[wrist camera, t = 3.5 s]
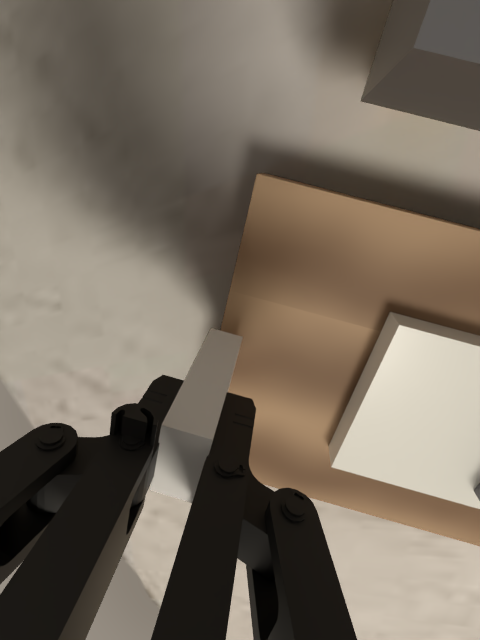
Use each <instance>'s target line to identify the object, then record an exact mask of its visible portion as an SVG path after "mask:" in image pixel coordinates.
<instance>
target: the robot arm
mask: <svg viewBox="0 0 480 640" xmlns="http://www.w3.org/2000/svg"><path fill="white" fill-rule="evenodd" d="M242 338H243V337H242V336H238V335H234V334H231V333H227V332H224V331H220V330H216V329H213V328H211V329H210V331H209V333H208V335H207V337H206V339H205V341H204V343H203V345H202V347H201V349H200V351H199V353H198V355H197V356H196V358H195V360H194V362H193V364H192V366H191V368H190V370H189V372H188V374H187V376H186V378H185V380H184V381H183V380H180V379H176V378H173V377H169V376H165V375H162V376H160V377H159V378H157V379H155V380H154V381H153V382H152V383H151V385H150V386H149V388H148V389H147V391H146V392H145V394H144V395H143V398H142V399H141V400H140V402H139V403H138V404H136V403H133V404H125V405H123V406H120V407H118V408H117V409H116V410H114V411H113V412H112V416H111V427H110V435H108V436H104V437H94V438H93V437H78V436H77V433H76V430H75V429H73V428H72V427H71V426H69V425H66V424H63V423H50V424H45V425H42V426H40V427H38V428H35V429H33V430H32V431H30V432H29V433H27V434H26V435H24V436H23V437H22V438H20V439H19V440H17V441H16V442H14V443H13V444H11V445H10V446H8V447H7V448H5V449H4V450H2V451H1V452H0V584H1V583H2V582H3V581H4V580H5V579H6V578H7V577H8V576H9V575H10V574H11V573H12V572H13V571H14V570H15V569H16V567H18V566H19V565H20V564H21V563H22V564H21V565H20V567H19V568H18V570H17V571H16V573H15V574H14V575H13V577H12V578H11V580H10V581H9V583H8V584H7V586H6V587H5V589H4V590H3V592H2V593H1V594H0V640H85V639H86V637H87V634H88V632H89V630H90V627H91V625H92V623H93V621H94V618H95V616H96V613H97V611H98V609H99V607H100V604H101V602H102V600H103V598H104V595H105V593H106V591H107V589H108V586H109V584H110V582H111V579H112V577H113V575H114V573H115V570H116V568H117V566H118V563H119V561H120V559H121V557H122V554H123V552H124V550H125V547H126V545H127V543H128V541H129V538H130V536H131V534H132V531H133V529H134V527H135V525H136V522H137V520H138V518H139V515H140V513H141V511H142V509H143V505H144V501H145V495H146V493H147V491H148V488H149V486H150V484H151V486H150V491H153V492H156V493H160V494H163V495H166V496H170V497H173V498H177V499H180V500H184V501H187V502H190V503H192V505H191V509H190V512H189V515H188V519H187V522H186V525H185V529H184V532H183V535H182V538H181V542H180V545H179V548H178V552H177V555H176V558H175V562H174V565H173V568H172V572H171V575H170V578H169V582H168V585H167V588H166V591H165V595H164V598H163V601H162V605H161V608H160V611H159V615H158V618H157V621H156V625H155V628H154V631H153V635H152V638H151V640H226V633H227V626H228V619H229V612H230V605H231V598H232V591H233V584H234V577H235V570H236V563H237V558H238V559H239V560H241V561H242V562H244V563H245V564H246V569H247V579H248V588H249V598H250V608H251V618H252V628H253V637H254V640H357V638H356V635H355V631H354V628H353V625H352V622H351V619H350V615H349V612H348V609H347V606H346V603H345V599H344V596H343V593H342V590H341V587H340V583H339V580H338V577H337V574H336V571H335V567H334V564H333V561H332V558H331V555H330V551H329V548H328V545H327V542H326V539H325V535H324V532H323V529H322V526H321V523H320V519H319V516H318V513H317V510H316V508H315V506H314V504H313V502H312V501H311V500H310V499H309V498H308V497H307V496H306V495H305V494H303V493H302V492H300V491H298V490H296V489H292V488H280V489H279V490H277V491H275V492H274V491H272V490H271V489H269V488H268V487H266V486H264V485H263V484H262V483H260V482H259V481H258V480H257V479H256V478H255V477H254V475H253V474H252V472H251V470H250V467H249V455H250V448H251V441H252V434H253V427H254V420H255V414H256V407H255V405H254V402H253V400H252V399H251V398H247V397H243V396H240V395H236V394H233V393H229V392H228V390H229V386H230V382H231V379H232V375H233V371H234V368H235V364H236V360H237V357H238V353H239V349H240V345H241V342H242Z"/></svg>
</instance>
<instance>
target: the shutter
mask: <svg viewBox="0 0 480 640" xmlns="http://www.w3.org/2000/svg"><path fill="white" fill-rule="evenodd" d="M328 447H329V454H330V462H331V467H333V468H336V469H340V470H343V471H347V472H350V473H354V474H357V475H361V476H364V477H368V478H371V479H375V480H378V481H382V482H385V483H389V484H393V485H396V486H400V487H403V488H407V489H410V490H414V491H417V492H421V493H424V494H428V495H431V496H435V497H438V498H442V499H446V500H449V501H453V502H456V503H460V504H463V505H467V506H470V507H474V508H477V509H480V336H479V335H475V334H471V333H467V332H464V331H460V330H456V329H452V328H449V327H445V326H441V325H437V324H434V323H430V322H426V321H423V320H419V319H415V318H411V317H408V316H404V315H400V314H396V313H393V312H390V313H389V315H388V317H387V320H386V322H385V324H384V326H383V328H382V331H381V333H380V335H379V337H378V339H377V341H376V344H375V346H374V348H373V350H372V352H371V355H370V357H369V359H368V361H367V363H366V366H365V368H364V370H363V372H362V374H361V376H360V379H359V381H358V383H357V385H356V387H355V390H354V392H353V394H352V396H351V398H350V400H349V403H348V405H347V407H346V409H345V411H344V414H343V416H342V418H341V420H340V422H339V425H338V427H337V429H336V431H335V433H334V435H333V438H332V440H331V442H330V444H329V446H328Z"/></svg>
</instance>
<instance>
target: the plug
mask: <svg viewBox="0 0 480 640" xmlns="http://www.w3.org/2000/svg"><path fill="white" fill-rule="evenodd" d="M361 101H362V102H366V103H370V104H374V105H378V106H382V107H386V108H390V109H394V110H398V111H402V112H406V113H410V114H414V115H418V116H422V117H426V118H430V119H434V120H438V121H442V122H446V123H450V124H454V125H458V126H462V127H466V128H470V129H474V130H478V131H480V0H393V3H392V6H391V9H390V12H389V15H388V18H387V21H386V24H385V27H384V30H383V34H382V37H381V40H380V43H379V46H378V49H377V52H376V55H375V58H374V61H373V64H372V67H371V70H370V74H369V77H368V80H367V83H366V86H365V89H364V92H363V95H362V98H361Z"/></svg>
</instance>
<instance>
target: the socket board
mask: <svg viewBox="0 0 480 640" xmlns="http://www.w3.org/2000/svg"><path fill="white" fill-rule="evenodd" d="M390 312H393V313H396V314H400V315H404V316H408V317H411V318H415V319H419V320H423V321H426V322H430V323H434V324H437V325H441V326H445V327H449V328H452V329H456V330H460V331H464V332H467V333H471V334H475V335H479V336H480V229H478V228H475V227H471V226H467V225H463V224H459V223H455V222H451V221H448V220H444V219H440V218H436V217H432V216H428V215H424V214H420V213H417V212H413V211H409V210H405V209H401V208H397V207H393V206H390V205H386V204H382V203H378V202H374V201H370V200H366V199H362V198H359V197H355V196H351V195H347V194H343V193H339V192H335V191H331V190H328V189H324V188H320V187H316V186H312V185H308V184H304V183H301V182H297V181H293V180H289V179H285V178H281V177H277V176H273V175H270V174H266V173H260V174H257V175H256V180H255V184H254V188H253V192H252V197H251V201H250V205H249V209H248V214H247V218H246V222H245V227H244V231H243V235H242V239H241V244H240V248H239V252H238V257H237V261H236V265H235V269H234V274H233V278H232V282H231V286H230V291H229V295H228V299H227V304H226V308H225V312H224V316H223V321H222V325H221V329H220V331H224V332H227V333H231V334H234V335H238V336H242V337H243V338H242V342H241V345H240V349H239V353H238V357H237V360H236V364H235V368H234V371H233V375H232V379H231V382H230V386H229V390H228V392H229V393H233V394H236V395H240V396H243V397H247V398H251V399H252V400H253V402H254V405H255V407H256V414H255V420H254V427H253V434H252V441H251V448H250V455H249V467H250V470H251V472H252V474H253V475H254V477H255V478H256V479H257V480H258V481H259V482H260V483H262V484H265V485H268V486H271V487H275V488H278V489H280V488H292V489H296V490H298V491H300V492H302V493H303V494H305V495H306V496H307V497H310V498H313V499H317V500H320V501H324V502H327V503H331V504H334V505H338V506H341V507H345V508H348V509H352V510H355V511H359V512H362V513H366V514H369V515H373V516H376V517H380V518H383V519H387V520H390V521H394V522H397V523H401V524H404V525H408V526H411V527H415V528H418V529H422V530H425V531H429V532H432V533H436V534H439V535H442V536H446V537H449V538H453V539H456V540H460V541H463V542H467V543H470V544H474V545H477V546H480V509H477V508H474V507H470V506H467V505H463V504H460V503H456V502H453V501H449V500H446V499H442V498H438V497H435V496H431V495H428V494H424V493H421V492H417V491H414V490H410V489H407V488H403V487H400V486H396V485H393V484H389V483H385V482H382V481H378V480H375V479H371V478H368V477H364V476H361V475H357V474H354V473H350V472H347V471H343V470H340V469H336V468H333V467H331V462H330V454H329V447H328V446H329V444H330V442H331V440H332V438H333V435H334V433H335V431H336V429H337V427H338V425H339V422H340V420H341V418H342V416H343V414H344V411H345V409H346V407H347V405H348V403H349V400H350V398H351V396H352V394H353V392H354V390H355V387H356V385H357V383H358V381H359V379H360V376H361V374H362V372H363V370H364V368H365V366H366V363H367V361H368V359H369V357H370V355H371V352H372V350H373V348H374V346H375V344H376V341H377V339H378V337H379V335H380V333H381V331H382V328H383V326H384V324H385V322H386V320H387V317H388V315H389V313H390Z"/></svg>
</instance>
